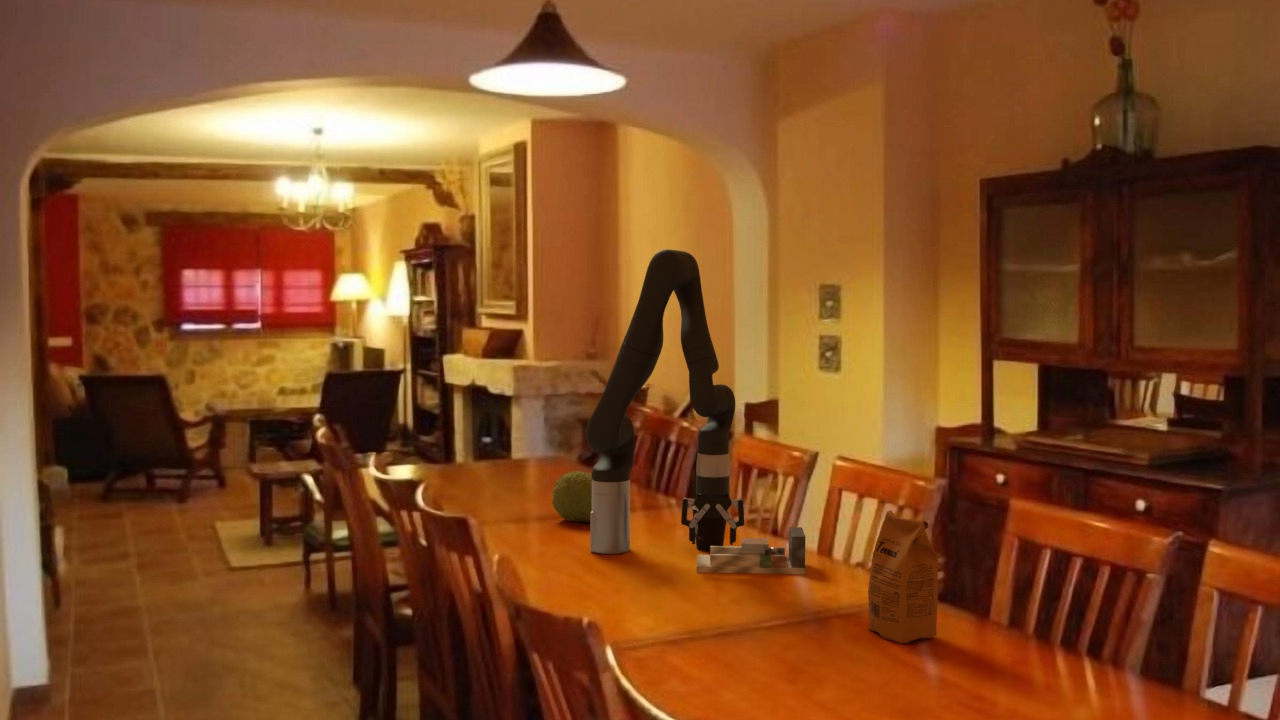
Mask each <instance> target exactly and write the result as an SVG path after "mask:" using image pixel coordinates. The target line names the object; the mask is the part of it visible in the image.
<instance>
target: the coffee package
mask: <svg viewBox="0 0 1280 720" xmlns="http://www.w3.org/2000/svg"><path fill="white" fill-rule="evenodd" d="M929 526H930V525H929V523H928V522H927V521H926V520H920V519H911V518H910V519H909V518H900V517H899V516H898V515H897V514H896V513H894V512H893V511H892V510H887V511H886V514H885V516H884V520H883V522H882V524H881V527H880V531H879V533H878V537H877V538H876V542H875V546H874V548H873V552H872V556H871V557H872V558H871V565H870V573H869V580H868V581H869V582H868V589H867V595H868V598H867V599H868V626H867V628H868V630H869V631H872V632H877V633H878V634H879V635H880V636H881V638H883V639H885V640H889V641H892V642H896V643H899V644H908V643H910V642H913V641H916V640H918V639H919V640H920V639H928V638H929V639H930V638H932V637H934V636H937V633H938V632H937V628H938V627H937V623H938V622H937V621H938V604H939V602H938V590H939V578H938V577H939V558H938V556H937V553H936V552H935V549H934V547H933V544H932V543H931V540H930V539H929V536H928V534H927V532H926V530H927V529H928V528H929Z"/></svg>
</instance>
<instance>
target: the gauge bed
mask: <svg viewBox="0 0 1280 720" xmlns="http://www.w3.org/2000/svg"><path fill="white" fill-rule="evenodd" d="M772 547H773V548H781V549H782V554H781V555H747V554H741V545H739V546H736V545H735V546H734V545H723V546H710V552H709V553H710V554H697V555H696V573H716V574H718V573H719V574H720V573H721V574H723V573H724V574H760V575H761V574H765V575H767V574H770V575H771V574H773V575H774V574H775V575H806V534H805V531H804V528H803V527H802V526H801V527H800V526H797V527H796V526H794V527H793V526H792V527H791V526H789V527H788V555H787V554H785V551H786V549H785V548H786V547H785V546H772Z"/></svg>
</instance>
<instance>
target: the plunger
mask: <svg viewBox="0 0 1280 720" xmlns="http://www.w3.org/2000/svg"><path fill="white" fill-rule="evenodd" d="M740 540H741V541H740V543H741V544H740V546H741V554H747V555H781V554H782V549H781V548H773V547H774V546H769V539H768V538H759V537H754V538H753V537H751V538H750V537H741V538H740Z"/></svg>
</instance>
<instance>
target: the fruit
mask: <svg viewBox="0 0 1280 720" xmlns="http://www.w3.org/2000/svg"><path fill="white" fill-rule="evenodd" d="M551 495H552V500H551V501H552V503H551V504H552V507H553V508H554V509H555V511H556V512H557V514H558V515H559V516H560V517H561V518H562V519H564V520H566V521H568V522H584V523H587V522H590V513H591V511H592V472H586V471H580V470H575V471H572V472H568V473H565V474H563V475H561V477H559V478H558V479H557V481H556V482H555V485H554V488H553V490H552V494H551Z"/></svg>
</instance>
